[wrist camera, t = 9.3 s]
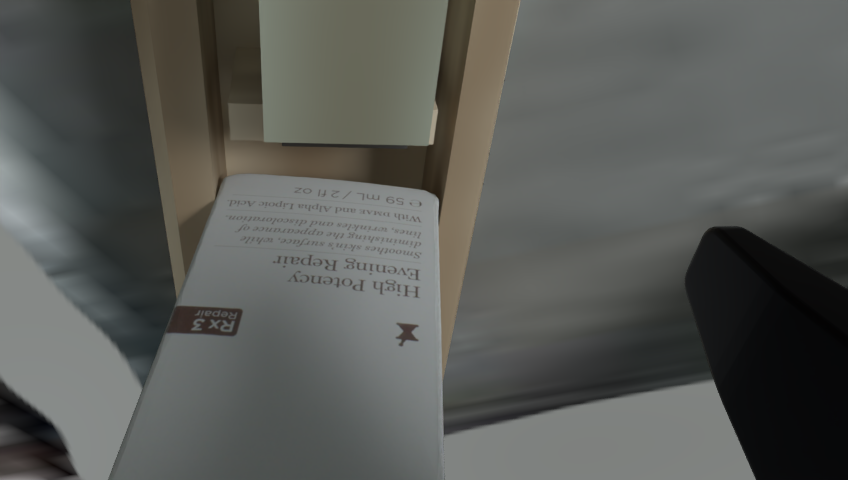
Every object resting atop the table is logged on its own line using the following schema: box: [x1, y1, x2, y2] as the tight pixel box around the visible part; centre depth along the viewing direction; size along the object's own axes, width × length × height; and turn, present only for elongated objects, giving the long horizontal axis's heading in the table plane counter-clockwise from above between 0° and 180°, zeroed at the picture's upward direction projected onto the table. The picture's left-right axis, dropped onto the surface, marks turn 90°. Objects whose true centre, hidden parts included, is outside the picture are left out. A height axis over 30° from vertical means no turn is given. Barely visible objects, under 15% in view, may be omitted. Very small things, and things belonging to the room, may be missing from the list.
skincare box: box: [108, 173, 445, 480], centre depth 16 cm, size 6×4×12 cm
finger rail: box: [130, 0, 520, 381], centre depth 20 cm, size 10×28×8 cm, turn 174°
